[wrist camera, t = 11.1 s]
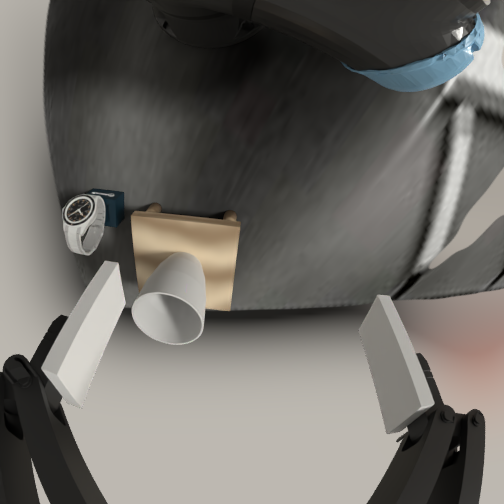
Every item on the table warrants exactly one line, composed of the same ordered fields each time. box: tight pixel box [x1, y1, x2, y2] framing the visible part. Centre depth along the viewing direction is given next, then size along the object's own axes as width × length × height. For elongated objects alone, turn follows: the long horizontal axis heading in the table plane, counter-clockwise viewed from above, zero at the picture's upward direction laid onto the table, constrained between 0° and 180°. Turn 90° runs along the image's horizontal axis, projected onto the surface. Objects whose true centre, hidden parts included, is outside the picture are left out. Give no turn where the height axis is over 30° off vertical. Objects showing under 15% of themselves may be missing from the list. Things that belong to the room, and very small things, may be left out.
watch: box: [62, 189, 124, 255], centre depth 34 cm, size 6×8×11 cm
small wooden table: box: [131, 203, 241, 311], centre depth 40 cm, size 14×14×6 cm
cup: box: [132, 252, 206, 345], centre depth 33 cm, size 8×8×10 cm
